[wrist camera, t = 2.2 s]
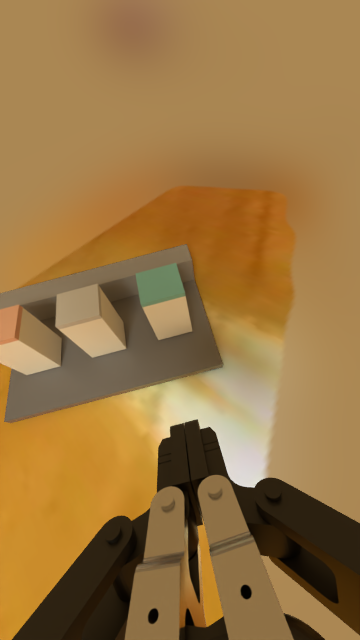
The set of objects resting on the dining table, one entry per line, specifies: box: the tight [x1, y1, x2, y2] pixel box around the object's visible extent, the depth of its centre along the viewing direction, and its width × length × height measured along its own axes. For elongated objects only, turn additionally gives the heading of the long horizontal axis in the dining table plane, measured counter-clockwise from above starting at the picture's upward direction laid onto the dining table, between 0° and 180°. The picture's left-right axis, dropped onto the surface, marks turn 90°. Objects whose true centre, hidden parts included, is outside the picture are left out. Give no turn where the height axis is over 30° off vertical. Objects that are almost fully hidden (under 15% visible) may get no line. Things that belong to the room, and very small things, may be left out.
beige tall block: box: [55, 284, 127, 358], centre depth 28 cm, size 4×4×8 cm
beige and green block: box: [136, 263, 192, 340], centre depth 28 cm, size 4×4×8 cm
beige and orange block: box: [0, 305, 62, 375], centre depth 28 cm, size 4×4×8 cm
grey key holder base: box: [0, 244, 223, 423], centre depth 31 cm, size 26×16×5 cm, turn 103°
